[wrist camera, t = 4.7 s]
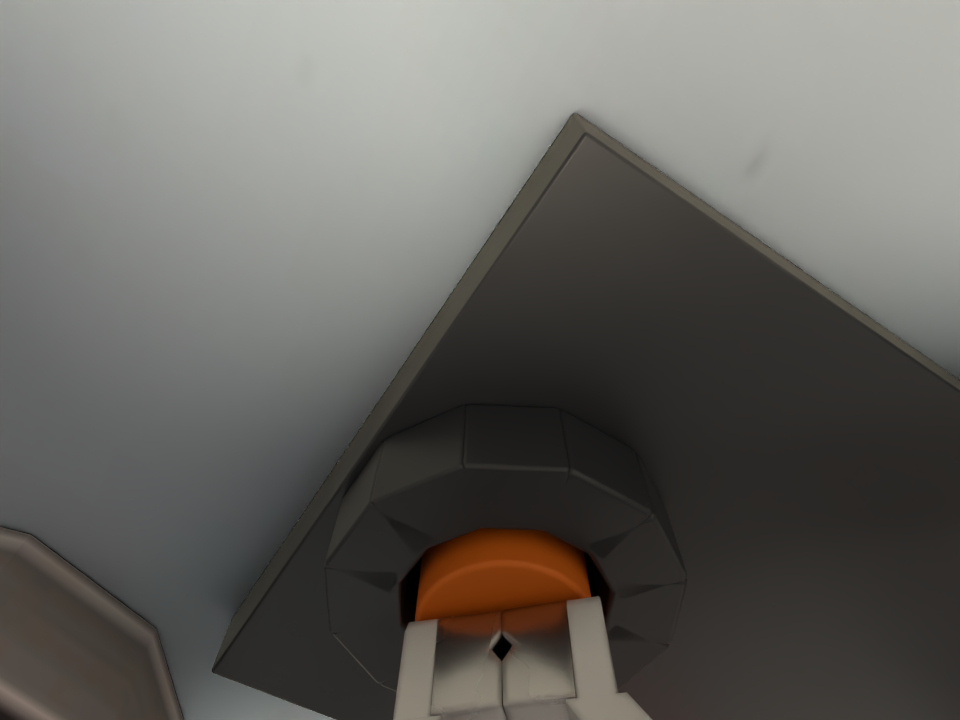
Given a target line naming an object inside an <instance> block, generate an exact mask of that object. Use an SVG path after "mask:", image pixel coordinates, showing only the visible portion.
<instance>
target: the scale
mask: <svg viewBox="0 0 960 720" xmlns="http://www.w3.org/2000/svg"><path fill="white" fill-rule="evenodd" d="M481 528H489V529H514V530H538V531H544V532H546V533H548V534H550V535H552V536H554V537H556V538H558V539H560V540H562V541H564V542H566V543H568V544H570V545H572V546H574V547H576V548H578V549H580V550H582V551H584V555H585V562H586V568H587V574H588V580H589V586H590V593H591V597H596V596H599V597H600V600H601V605H602V610H603V615H604V620H605V626H606V631H607V636H608V641H609V647H610V652H611V657H612V662H613V668H614V673H615V678H616V683H617V689H618V693H624V692H627V693H628V694H629V695H630V696H631V697H632V698H633V700H634V701H635V702H636V703H637V704H638V705H639V706H640V707H641V708H642V709H643V710H644V711H645V712H646V713H647V715H648V716H649V717H650V718H651V719H652V720H960V380H958V379H957V378H955V377H954V376H953V375H951V374H950V373H948V372H947V371H945V370H944V369H943V368H941V367H940V366H938V365H937V364H935V363H934V362H933V361H931V360H930V359H928V358H927V357H925V356H924V355H922V354H921V353H920V352H918V351H917V350H915V349H914V348H912V347H911V346H910V345H908V344H907V343H905V342H904V341H902V340H901V339H900V338H898V337H897V336H895V335H894V334H892V333H891V332H890V331H888V330H887V329H885V328H884V327H882V326H881V325H879V324H878V323H877V322H875V321H874V320H872V319H871V318H869V317H868V316H867V315H865V314H864V313H862V312H861V311H859V310H858V309H857V308H855V307H854V306H852V305H851V304H849V303H848V302H846V301H845V300H844V299H842V298H841V297H839V296H838V295H836V294H835V293H834V292H832V291H831V290H829V289H828V288H826V287H825V286H824V285H822V284H821V283H819V282H818V281H816V280H815V279H814V278H812V277H811V276H809V275H808V274H806V273H805V272H803V271H802V270H801V269H799V268H798V267H796V266H795V265H793V264H792V263H791V262H789V261H788V260H786V259H785V258H783V257H782V256H781V255H779V254H778V253H776V252H775V251H773V250H772V249H770V248H769V247H768V246H766V245H765V244H763V243H762V242H760V241H759V240H758V239H756V238H755V237H753V236H752V235H750V234H749V233H748V232H746V231H745V230H743V229H742V228H740V227H739V226H737V225H736V224H735V223H733V222H732V221H730V220H729V219H727V218H726V217H725V216H723V215H722V214H720V213H719V212H717V211H716V210H715V209H713V208H712V207H710V206H709V205H707V204H706V203H705V202H703V201H702V200H700V199H699V198H697V197H696V196H694V195H693V194H692V193H690V192H689V191H687V190H686V189H684V188H683V187H682V186H680V185H679V184H677V183H676V182H674V181H673V180H672V179H670V178H669V177H667V176H666V175H664V174H663V173H661V172H660V171H659V170H657V169H656V168H654V167H653V166H651V165H650V164H649V163H647V162H646V161H644V160H643V159H641V158H640V157H639V156H637V155H636V154H634V153H633V152H631V151H630V150H628V149H627V148H626V147H624V146H623V145H621V144H620V143H618V142H617V141H616V140H614V139H613V138H611V137H610V136H608V135H607V134H606V133H604V132H603V131H601V130H600V129H598V128H597V127H596V126H594V125H593V124H591V123H590V122H588V121H587V120H585V119H584V118H583V117H581V116H580V115H578V114H573V115H572V116H571V118H570V119H569V121H568V122H567V124H566V125H565V127H564V128H563V130H562V131H561V133H560V134H559V135H558V137H557V138H556V140H555V141H554V143H553V144H552V146H551V147H550V149H549V150H548V152H547V153H546V155H545V156H544V158H543V159H542V161H541V162H540V164H539V165H538V167H537V168H536V170H535V171H534V172H533V174H532V175H531V177H530V178H529V180H528V181H527V183H526V184H525V186H524V187H523V189H522V190H521V192H520V193H519V195H518V196H517V198H516V199H515V201H514V202H513V204H512V205H511V207H510V208H509V209H508V211H507V212H506V214H505V215H504V217H503V218H502V220H501V221H500V223H499V224H498V226H497V227H496V229H495V230H494V232H493V233H492V235H491V236H490V238H489V239H488V241H487V242H486V244H485V245H484V246H483V248H482V249H481V251H480V252H479V254H478V255H477V257H476V258H475V260H474V261H473V263H472V264H471V266H470V267H469V269H468V270H467V272H466V273H465V275H464V276H463V278H462V279H461V281H460V282H459V283H458V285H457V286H456V288H455V289H454V291H453V292H452V294H451V295H450V297H449V298H448V300H447V301H446V303H445V304H444V306H443V307H442V309H441V310H440V312H439V313H438V315H437V316H436V318H435V319H434V320H433V322H432V323H431V325H430V326H429V328H428V329H427V331H426V332H425V334H424V335H423V337H422V338H421V340H420V341H419V343H418V344H417V346H416V347H415V349H414V350H413V352H412V353H411V355H410V356H409V357H408V359H407V360H406V362H405V363H404V365H403V366H402V368H401V369H400V371H399V372H398V374H397V375H396V377H395V378H394V380H393V381H392V383H391V384H390V386H389V387H388V389H387V390H386V392H385V393H384V394H383V396H382V397H381V399H380V400H379V402H378V403H377V405H376V406H375V408H374V409H373V411H372V412H371V414H370V415H369V417H368V418H367V420H366V421H365V423H364V424H363V426H362V427H361V428H360V430H359V431H358V433H357V434H356V436H355V437H354V439H353V440H352V442H351V443H350V445H349V446H348V448H347V449H346V451H345V452H344V454H343V455H342V457H341V458H340V460H339V461H338V463H337V464H336V465H335V467H334V468H333V470H332V471H331V473H330V474H329V476H328V477H327V479H326V480H325V482H324V483H323V485H322V486H321V488H320V489H319V491H318V492H317V494H316V495H315V497H314V498H313V500H312V501H311V502H310V504H309V505H308V507H307V508H306V510H305V511H304V513H303V514H302V516H301V517H300V519H299V520H298V522H297V523H296V525H295V526H294V528H293V529H292V531H291V532H290V534H289V535H288V537H287V538H286V539H285V541H284V542H283V544H282V545H281V547H280V548H279V550H278V551H277V553H276V554H275V556H274V557H273V559H272V560H271V562H270V563H269V565H268V566H267V568H266V569H265V571H264V572H263V574H262V575H261V576H260V578H259V579H258V581H257V582H256V584H255V585H254V587H253V588H252V590H251V591H250V593H249V594H248V596H247V597H246V599H245V600H244V602H243V603H242V605H241V606H240V608H239V609H238V611H237V612H236V613H235V615H234V616H233V618H232V620H231V622H230V625H229V627H228V630H227V633H226V635H225V638H224V640H223V643H222V645H221V648H220V650H219V653H218V655H217V658H216V661H215V663H214V666H213V668H212V672H213V673H215V674H217V675H220V676H223V677H225V678H228V679H231V680H233V681H236V682H239V683H241V684H244V685H246V686H249V687H252V688H254V689H257V690H260V691H262V692H265V693H268V694H270V695H273V696H275V697H278V698H281V699H283V700H286V701H289V702H291V703H294V704H297V705H299V706H302V707H304V708H307V709H310V710H312V711H315V712H318V713H320V714H323V715H326V716H328V717H331V718H333V719H336V720H393V716H394V709H395V701H396V693H397V686H398V678H399V671H400V663H401V656H402V648H403V641H404V633H405V630H406V628H407V626H408V623H409V622H415V614H416V605H417V596H418V588H419V579H420V570H421V561H422V556H423V554H424V553H425V552H426V551H427V550H428V548H431V547H434V546H436V545H439V544H442V543H444V542H447V541H449V540H452V539H455V538H457V537H460V536H462V535H465V534H468V533H470V532H473V531H476V530H478V529H481Z"/></svg>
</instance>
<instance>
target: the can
mask: <svg viewBox="0 0 960 720" xmlns="http://www.w3.org/2000/svg"><path fill="white" fill-rule="evenodd" d="M0 720H183V717H182V714H181V710H180V707H179V704H178V700H177V697H176V693H175V690H174V687H173V683H172V680H171V677H170V673H169V670H168V667H167V663H166V660H165V657H164V653H163V650H162V647H161V643H160V640H159V637H158V633H157V630H156V628H154V627H153V626H152V625H150V624H149V623H148V622H146V621H145V620H144V619H142V618H141V617H140V616H138V615H137V614H136V613H134V612H133V611H132V610H130V609H129V608H128V607H126V606H125V605H124V604H122V603H121V602H120V601H118V600H117V599H116V598H114V597H113V596H112V595H110V594H109V593H108V592H106V591H105V590H104V589H103V588H101V587H100V586H99V585H97V584H96V583H95V582H93V581H92V580H91V579H89V578H88V577H87V576H85V575H84V574H83V573H81V572H80V571H79V570H77V569H76V568H75V567H73V566H72V565H71V564H69V563H68V562H67V561H65V560H64V559H63V558H61V557H60V556H59V555H57V554H56V553H55V552H53V551H52V550H51V549H49V548H48V547H47V546H45V545H44V544H43V543H41V542H40V541H39V540H37V539H36V538H35V537H33V536H32V535H30V534H26V533H22V532H18V531H14V530H10V529H6V528H2V527H0Z"/></svg>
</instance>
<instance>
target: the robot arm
mask: <svg viewBox="0 0 960 720" xmlns="http://www.w3.org/2000/svg"><path fill="white" fill-rule="evenodd" d="M393 720H652V719H651V718H650V717H649V716H648V715H647V713H646V712H645V711H644V710H643V709H642V708H641V707H640V706H639V705H638V704H637V703H636V702H635V701H634V700H633V698H632V697H631V696H630V695H629V694H628V693H627V692H624V693H618V689H617V683H616V678H615V673H614V668H613V662H612V657H611V652H610V647H609V641H608V636H607V631H606V626H605V620H604V615H603V610H602V605H601V600H600V597H599V596H596V597H589V598H582V599H575V600H568V601H567V602H566V600H564V601H558V602H551V603H545V604H538V605H532V606H525V607H519V608H512V609H506V610H503V611H499V612H490V613H481V614H472V615H463V616H455V617H446V618H439V619H431V620H423V621H415V622H409V623H408V626H407V628H406V630H405V633H404V641H403V648H402V656H401V663H400V671H399V678H398V686H397V693H396V701H395V709H394V716H393Z"/></svg>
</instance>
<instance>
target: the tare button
mask: <svg viewBox="0 0 960 720" xmlns="http://www.w3.org/2000/svg"><path fill="white" fill-rule="evenodd" d="M589 597H591V593H590V586H589V580H588V574H587V568H586V562H585V555H584V551H582V550H580V549H578V548H576V547H574V546H572V545H570V544H568V543H566V542H564V541H562V540H560V539H558V538H556V537H554V536H552V535H550V534H548V533H546V532H544V531H538V530H514V529H489V528H481V529H478V530H476V531H473V532H470V533H468V534H465V535H462V536H460V537H457V538H455V539H452V540H449V541H447V542H444V543H442V544H439V545H436V546H434V547H431V548H428V550H427V551H426V552H425V553H424V554H423V556H422V561H421V570H420V579H419V588H418V596H417V605H416V614H415V621H423V620H431V619H439V618H446V617H455V616H463V615H472V614H481V613H490V612H499V611H503V610H506V609H512V608H519V607H525V606H532V605H538V604H545V603H551V602H558V601H564V600H566V602H567V601H568V600H575V599H582V598H589Z"/></svg>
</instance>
